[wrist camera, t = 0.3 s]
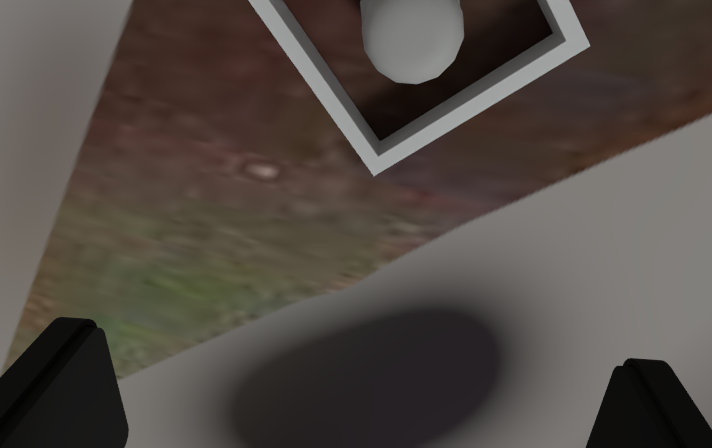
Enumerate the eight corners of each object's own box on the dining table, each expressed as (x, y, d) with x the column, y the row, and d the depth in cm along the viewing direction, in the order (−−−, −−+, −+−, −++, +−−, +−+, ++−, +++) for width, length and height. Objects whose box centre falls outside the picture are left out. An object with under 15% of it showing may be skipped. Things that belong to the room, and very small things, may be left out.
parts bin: (455, -212, 27) (461, -229, 24) (575, 37, 32) (590, 45, 30) (242, -31, 32) (227, -29, 29) (376, 159, 37) (373, 176, 35)
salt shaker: (345, -12, 32) (313, 12, 21) (425, -71, 30) (438, -81, 19) (395, 69, 34) (390, 131, 23) (473, 18, 32) (510, 58, 21)
